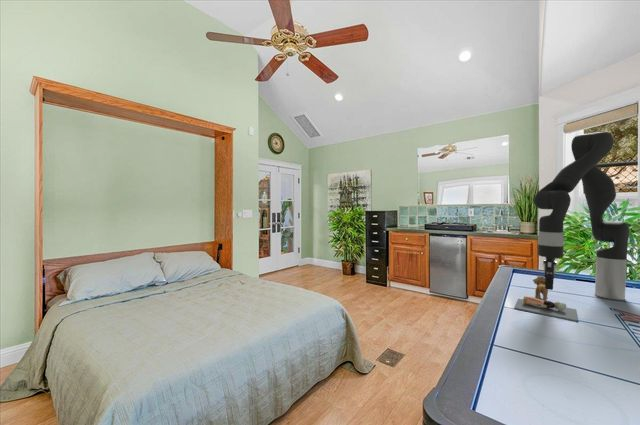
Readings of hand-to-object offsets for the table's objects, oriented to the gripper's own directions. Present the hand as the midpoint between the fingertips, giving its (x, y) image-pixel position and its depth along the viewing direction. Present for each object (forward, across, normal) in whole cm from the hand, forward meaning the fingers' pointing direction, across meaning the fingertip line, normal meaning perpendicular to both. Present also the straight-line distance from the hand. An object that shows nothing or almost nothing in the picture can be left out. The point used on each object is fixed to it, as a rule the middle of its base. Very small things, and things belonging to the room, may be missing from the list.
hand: (549, 286), depth 105 cm
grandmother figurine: (+7, 0, +8) cm, 11 cm away
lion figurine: (+9, +14, +3) cm, 17 cm away
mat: (+9, 0, +1) cm, 9 cm away
